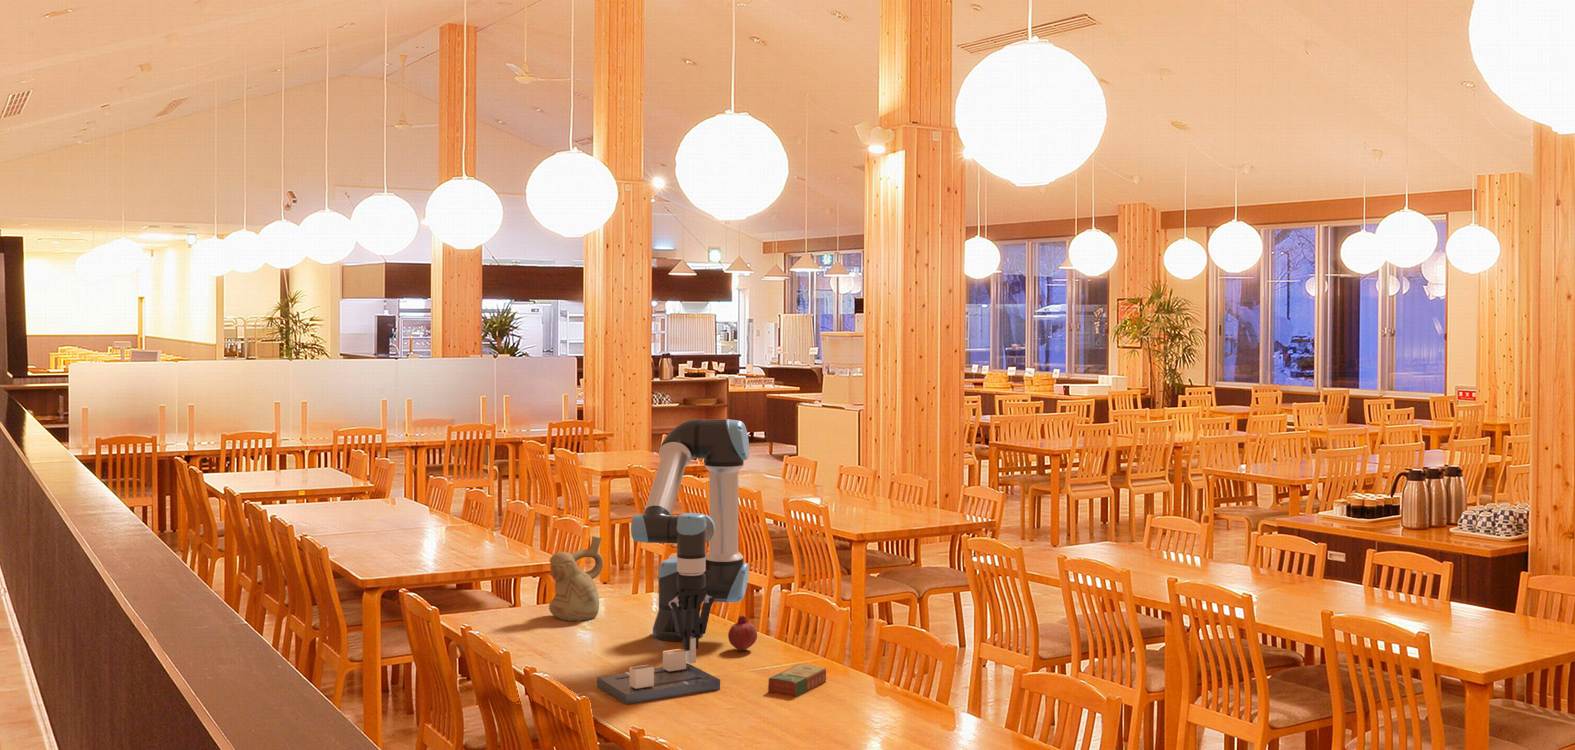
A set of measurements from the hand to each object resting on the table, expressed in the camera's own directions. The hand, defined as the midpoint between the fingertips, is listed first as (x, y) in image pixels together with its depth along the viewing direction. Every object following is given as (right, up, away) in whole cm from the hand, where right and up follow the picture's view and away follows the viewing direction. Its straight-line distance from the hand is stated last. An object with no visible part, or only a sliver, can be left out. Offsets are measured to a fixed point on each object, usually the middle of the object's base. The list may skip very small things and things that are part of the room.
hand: (690, 661), depth 335 cm
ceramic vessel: (-41, -1, +68) cm, 79 cm away
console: (-7, -4, -10) cm, 13 cm away
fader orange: (-4, -2, -2) cm, 5 cm away
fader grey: (-11, -2, -18) cm, 21 cm away
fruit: (+13, -3, +28) cm, 31 cm away
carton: (+28, -5, -8) cm, 30 cm away
